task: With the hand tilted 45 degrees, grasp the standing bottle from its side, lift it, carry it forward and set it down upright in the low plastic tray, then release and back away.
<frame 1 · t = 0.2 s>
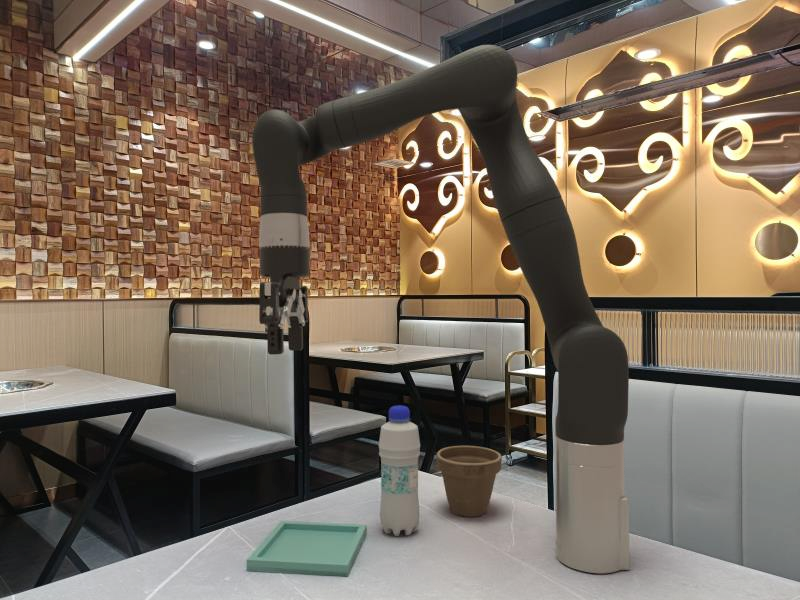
hand: (286, 352, 86), 29 cm above the table, tool pointing down, fingers open, 8 cm apart
tray: (311, 551, 83), on the table
flower pot: (469, 512, 99), on the table
bottle: (399, 531, 90), on the table
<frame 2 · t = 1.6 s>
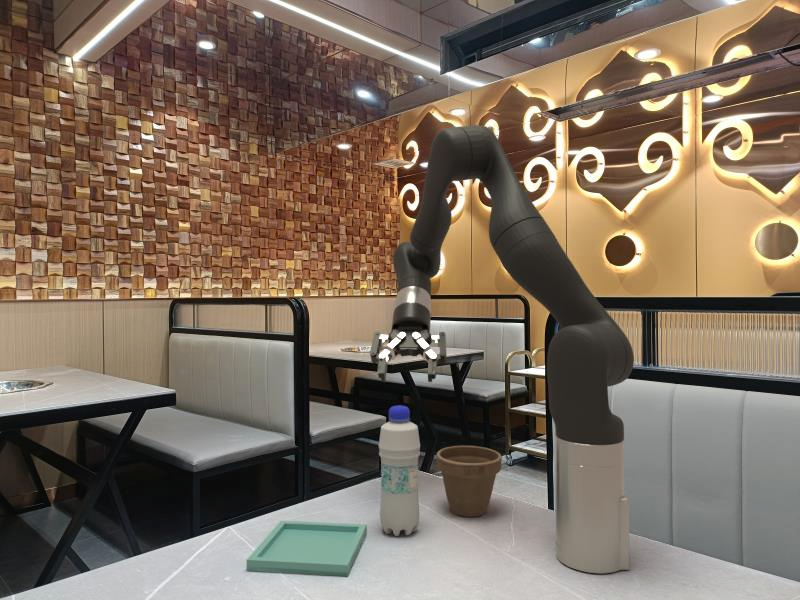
hand: (406, 378, 102), 23 cm above the table, tool tilted 45°, fingers open, 8 cm apart
nothing on the table moved.
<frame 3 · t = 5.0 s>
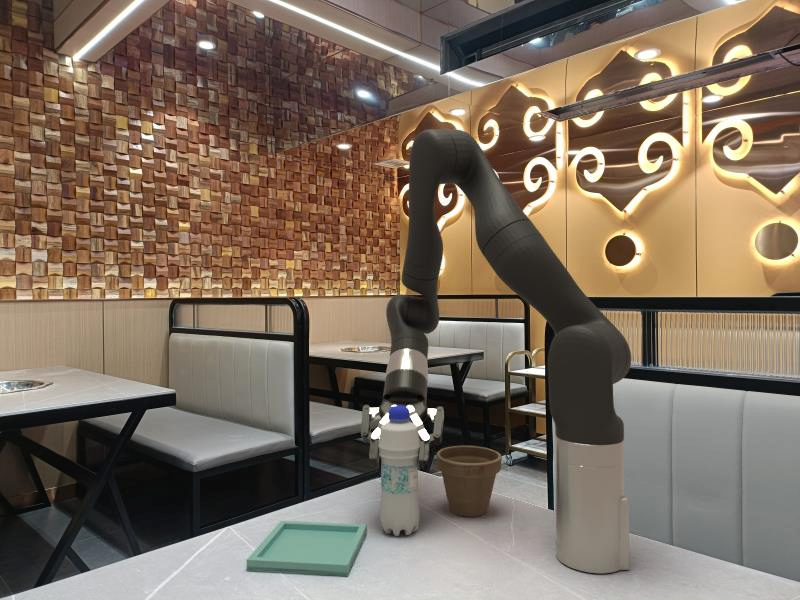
hand: (398, 464, 89), 11 cm above the table, tool tilted 45°, fingers closed on bottle, 6 cm apart
bottle: (399, 531, 90), on the table, touching gripper
everything else where it was.
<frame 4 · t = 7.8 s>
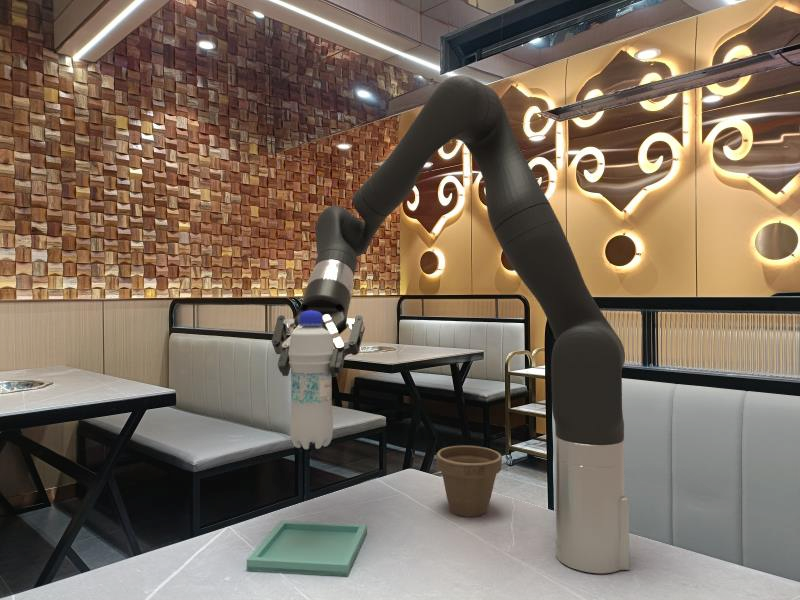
hand: (308, 372, 82), 26 cm above the table, tool tilted 45°, fingers closed on bottle, 6 cm apart
bottle: (311, 446, 84), point 15 cm above the table, touching gripper
everything else where it was.
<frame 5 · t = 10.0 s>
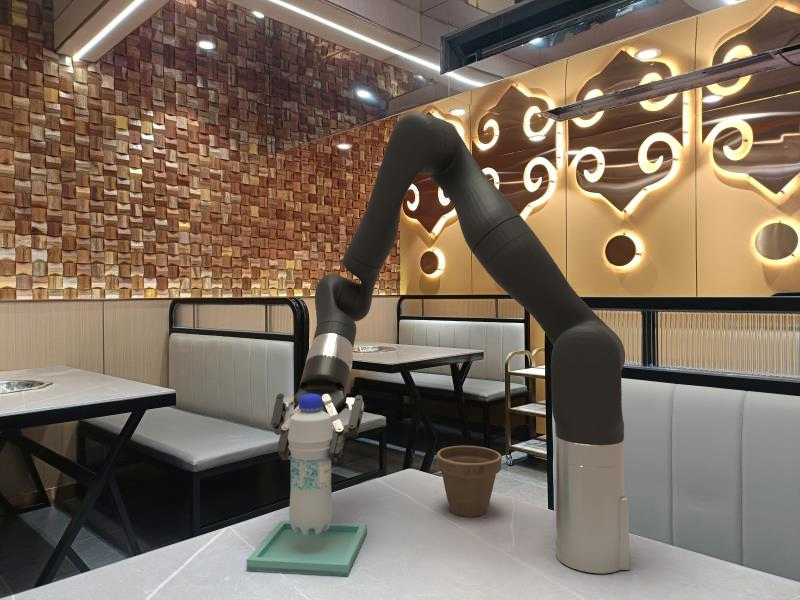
hand: (307, 458, 82), 14 cm above the table, tool tilted 45°, fingers closed on bottle, 6 cm apart
bottle: (311, 530, 83), point 3 cm above the table, touching gripper
everything else where it was.
when the fingers open (13 cm above the table, at t = 10.9 s): bottle drops 1 cm, resting on tray.
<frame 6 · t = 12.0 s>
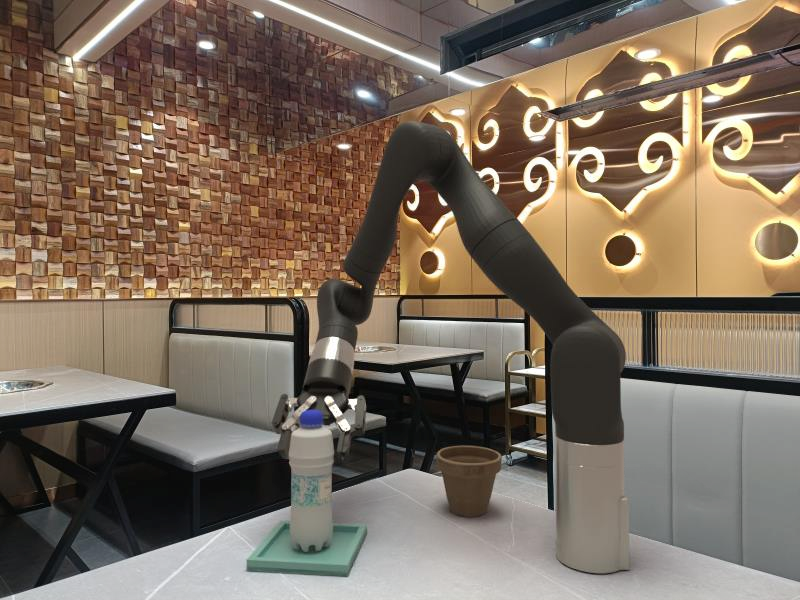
hand: (311, 457, 84), 14 cm above the table, tool tilted 45°, fingers open, 8 cm apart
bottle: (311, 547, 83), resting on tray
everything else where it was.
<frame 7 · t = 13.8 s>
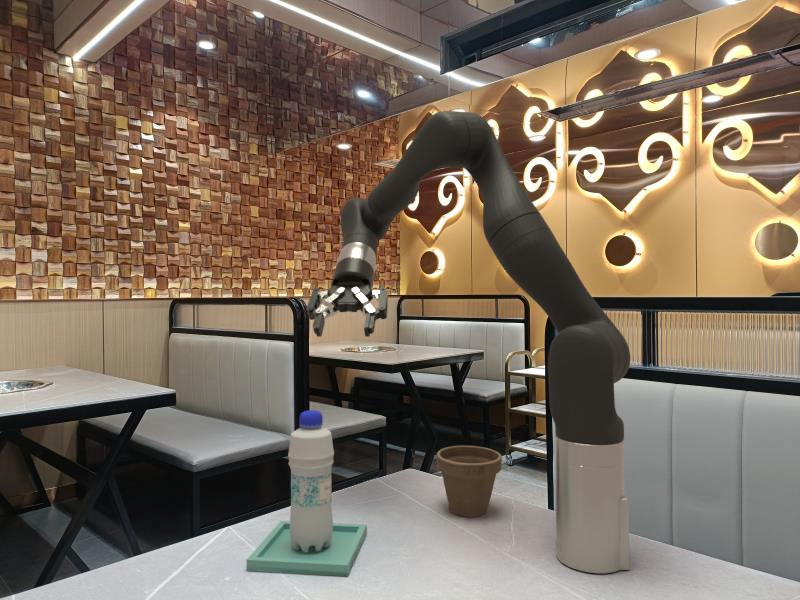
hand: (342, 333, 97), 31 cm above the table, tool tilted 45°, fingers open, 8 cm apart
nothing on the table moved.
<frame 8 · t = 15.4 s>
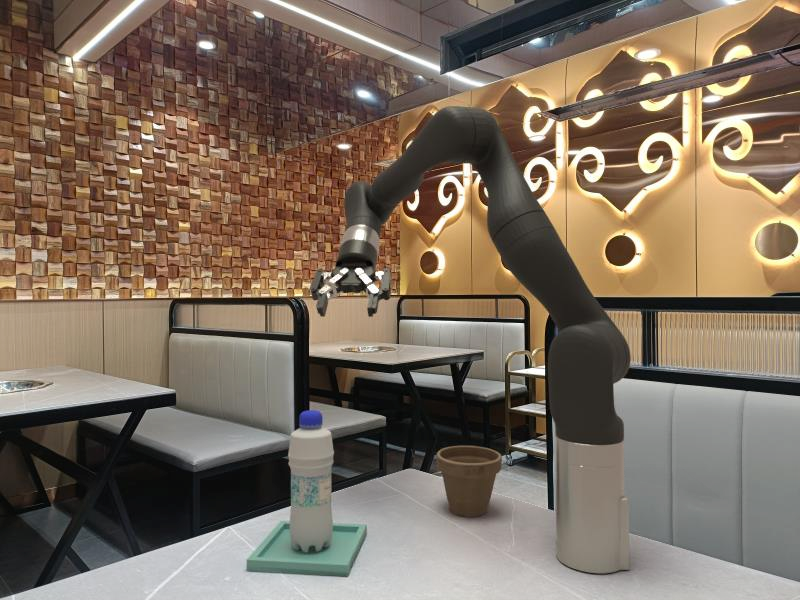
hand: (345, 313, 98), 35 cm above the table, tool tilted 45°, fingers open, 8 cm apart
nothing on the table moved.
at the end: bottle inside the target area on the tray (0.3 cm from its centre), point 0.4 cm above the tray's base; bottle tilted 0°; the gripper is holding nothing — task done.
